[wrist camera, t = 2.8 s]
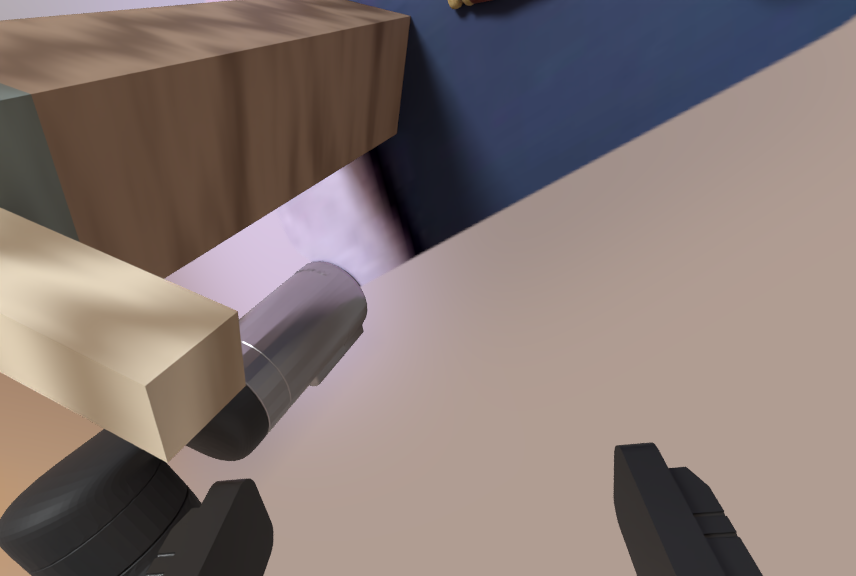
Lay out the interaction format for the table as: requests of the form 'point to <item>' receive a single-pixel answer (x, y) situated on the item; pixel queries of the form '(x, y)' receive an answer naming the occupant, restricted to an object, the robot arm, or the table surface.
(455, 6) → the gavel
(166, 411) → the maple key
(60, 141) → the teal-capped wooden post
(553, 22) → the table surface
